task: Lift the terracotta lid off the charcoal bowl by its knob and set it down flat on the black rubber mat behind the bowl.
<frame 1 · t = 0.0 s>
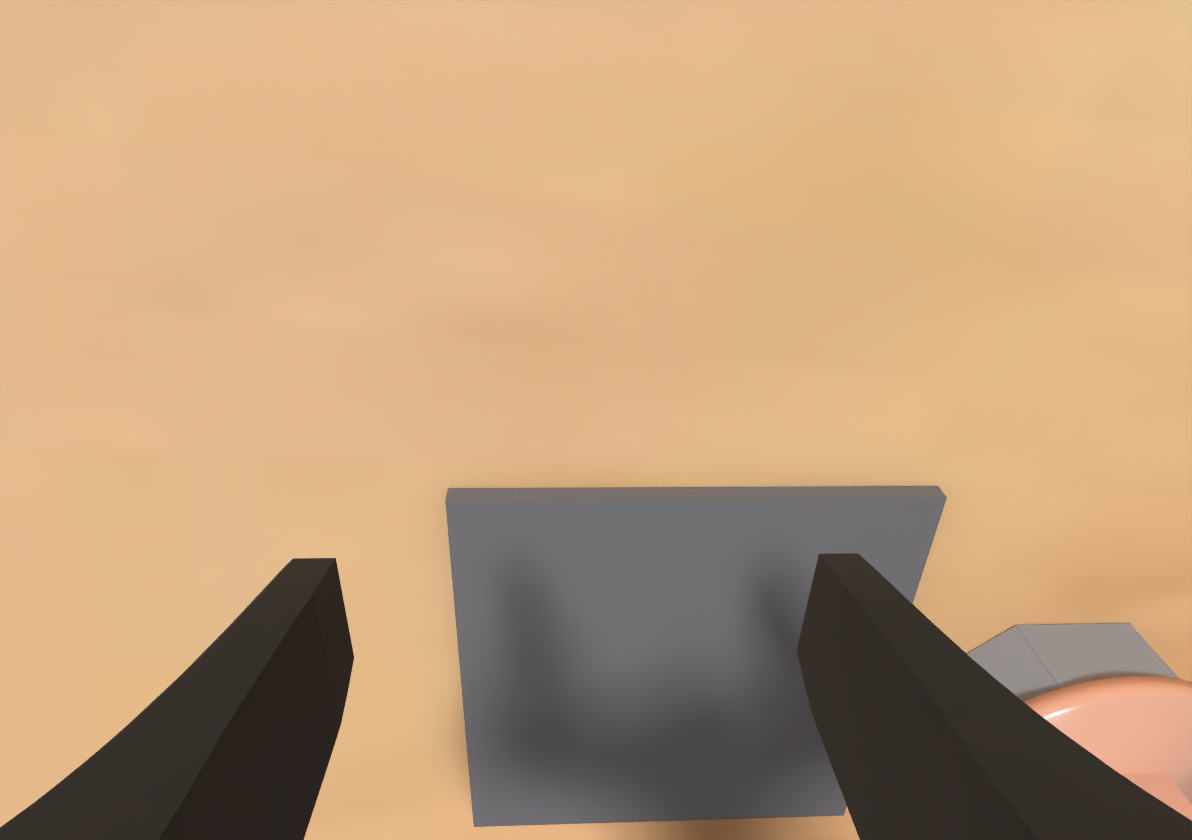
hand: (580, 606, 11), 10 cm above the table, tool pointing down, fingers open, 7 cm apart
lid: (1074, 789, 27), point 3 cm above the table, touching bowl
bowl: (1027, 718, 29), on the table
mat: (675, 670, 27), on the table
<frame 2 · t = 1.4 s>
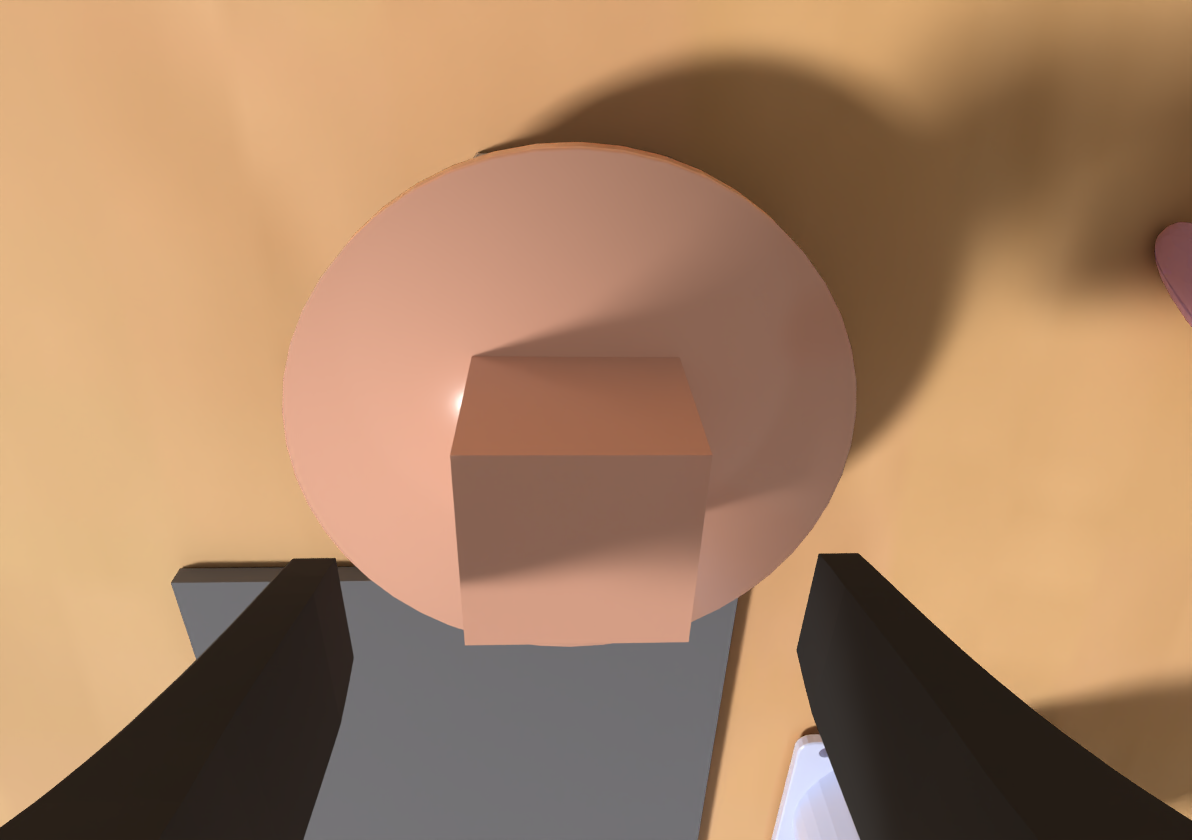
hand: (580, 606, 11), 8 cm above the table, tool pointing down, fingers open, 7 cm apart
lid: (573, 425, 16), point 3 cm above the table, touching bowl
mat: (476, 735, 26), on the table
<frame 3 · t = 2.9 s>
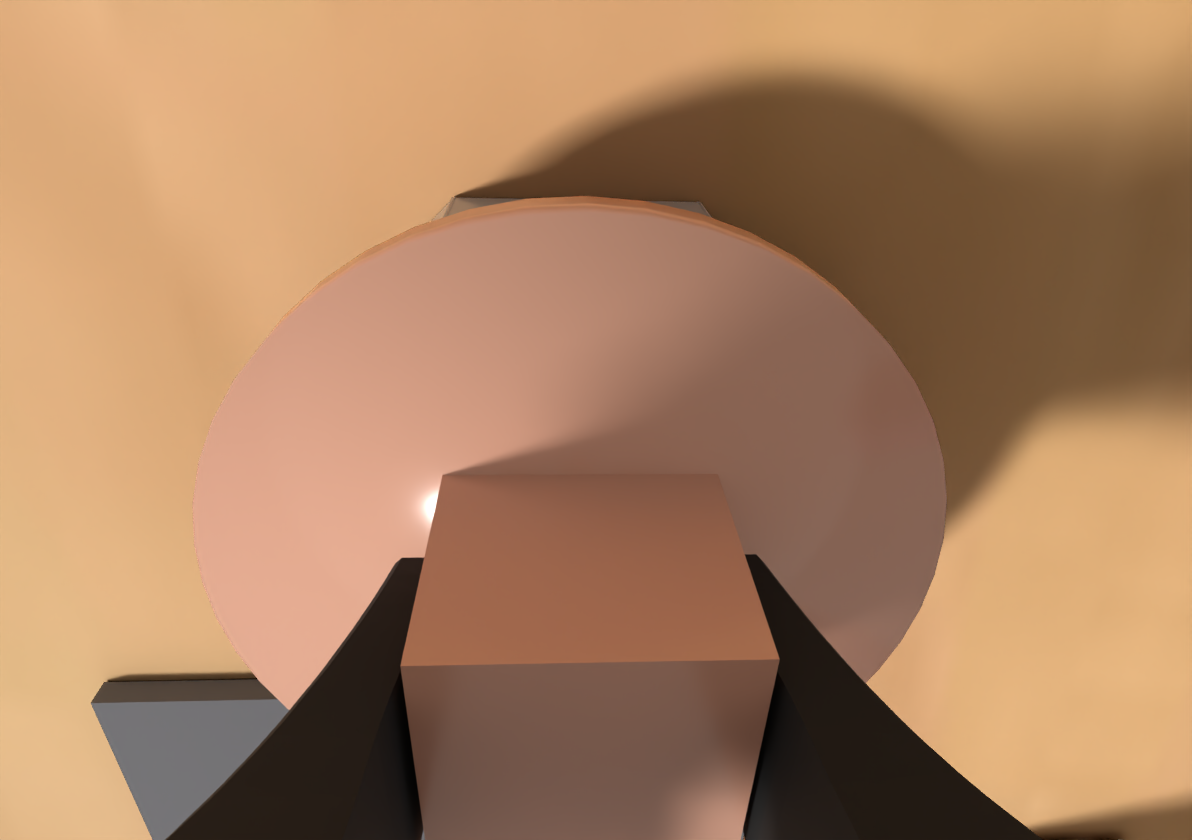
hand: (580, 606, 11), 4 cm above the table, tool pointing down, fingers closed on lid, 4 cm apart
lid: (577, 546, 13), point 3 cm above the table, touching bowl, gripper
bowl: (573, 449, 15), on the table
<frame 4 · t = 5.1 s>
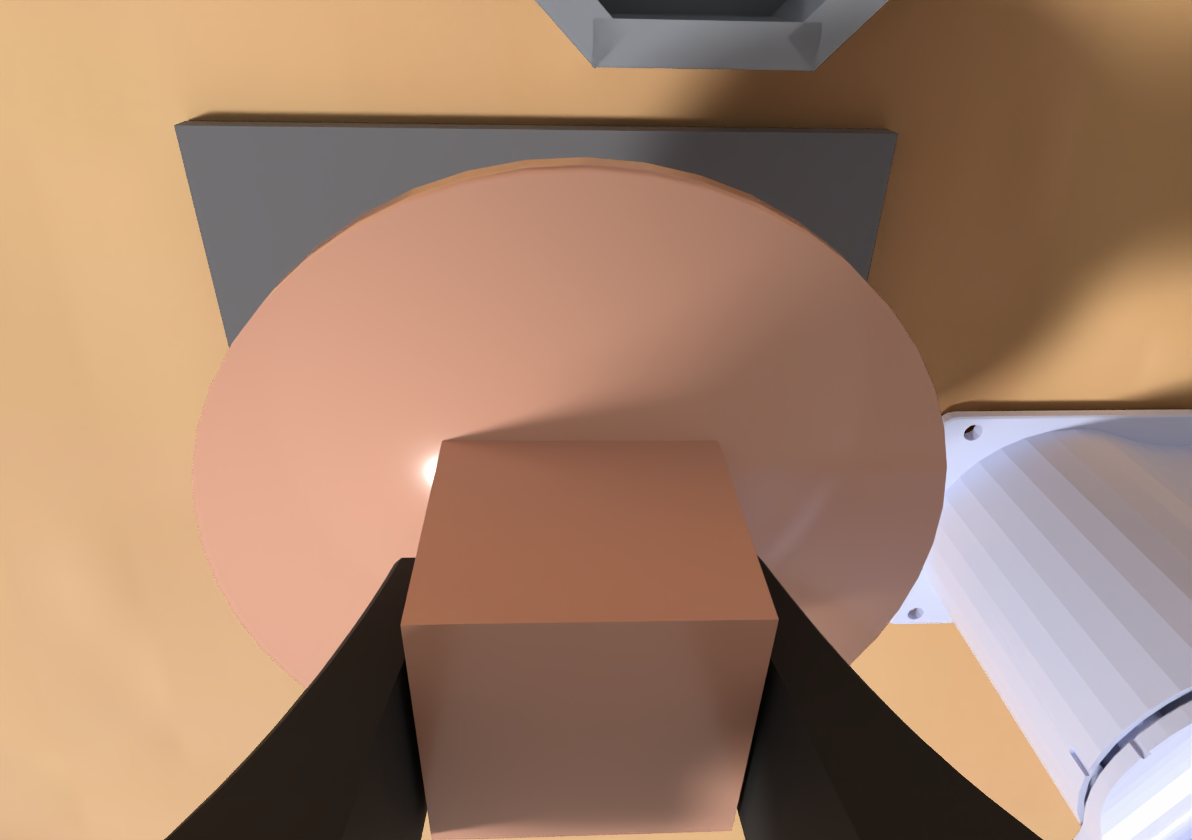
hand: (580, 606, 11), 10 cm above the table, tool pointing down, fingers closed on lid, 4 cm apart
lid: (577, 514, 13), point 8 cm above the table, touching gripper
mat: (549, 410, 21), on the table
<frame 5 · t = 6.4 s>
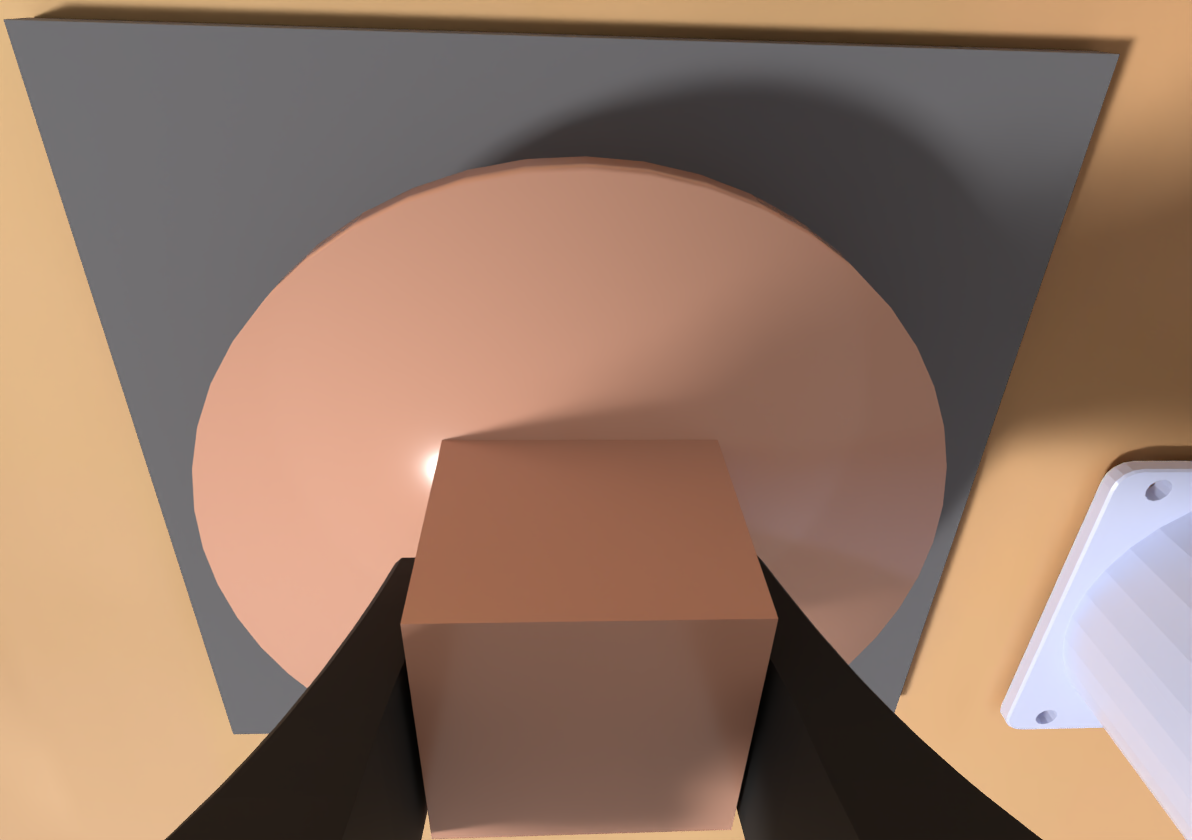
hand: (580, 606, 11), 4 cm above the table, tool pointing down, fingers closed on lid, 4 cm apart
lid: (577, 513, 13), point 3 cm above the table, touching gripper
mat: (575, 454, 15), on the table
when the fingers open (3 cm above the table, at t = 7.5 s): lid stays where it is, resting on mat.
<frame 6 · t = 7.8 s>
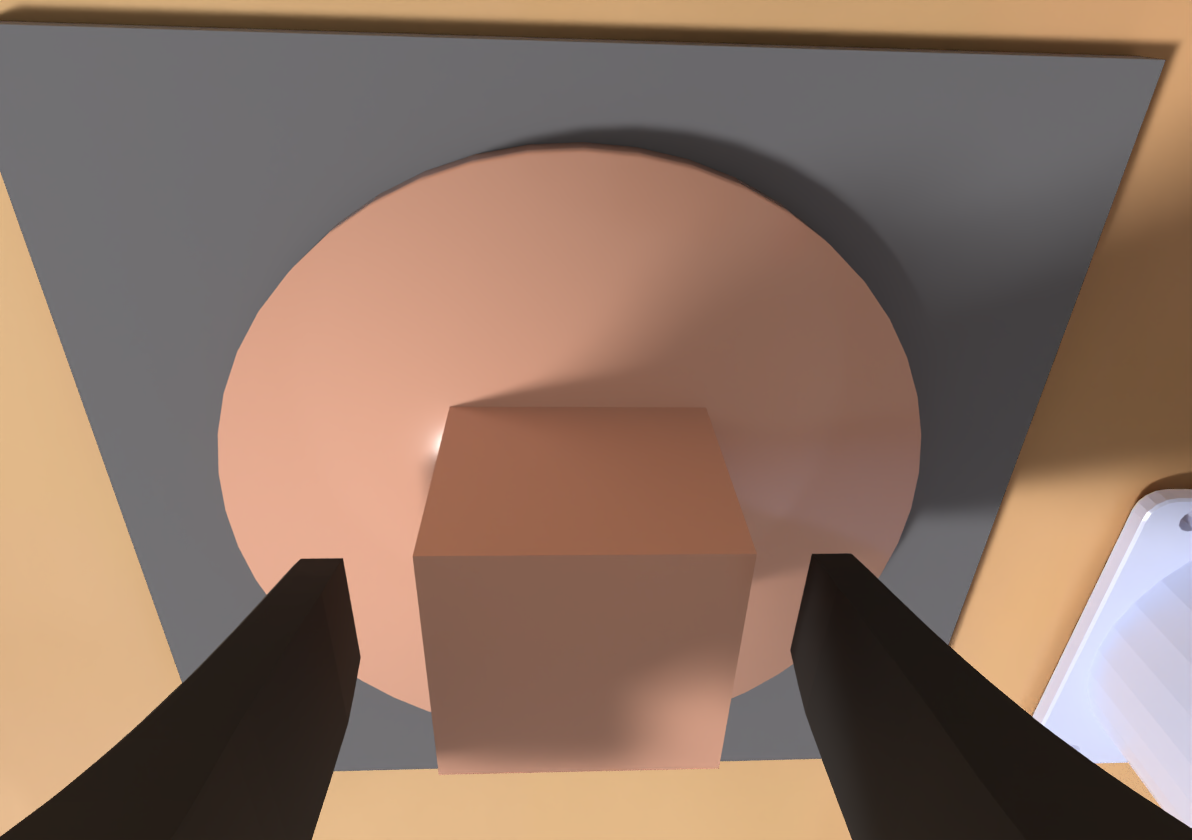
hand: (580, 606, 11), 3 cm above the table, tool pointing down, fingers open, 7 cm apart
lid: (575, 482, 13), point 1 cm above the table, touching mat
mat: (574, 484, 14), on the table
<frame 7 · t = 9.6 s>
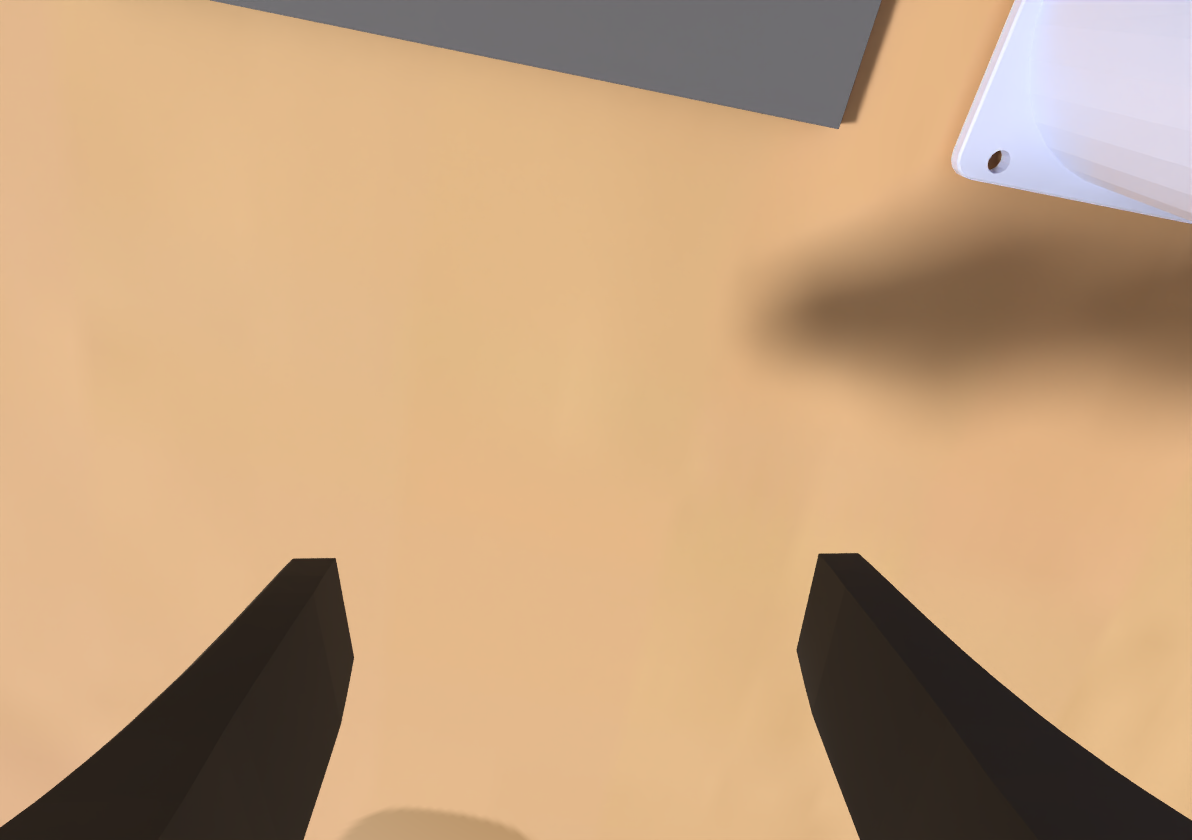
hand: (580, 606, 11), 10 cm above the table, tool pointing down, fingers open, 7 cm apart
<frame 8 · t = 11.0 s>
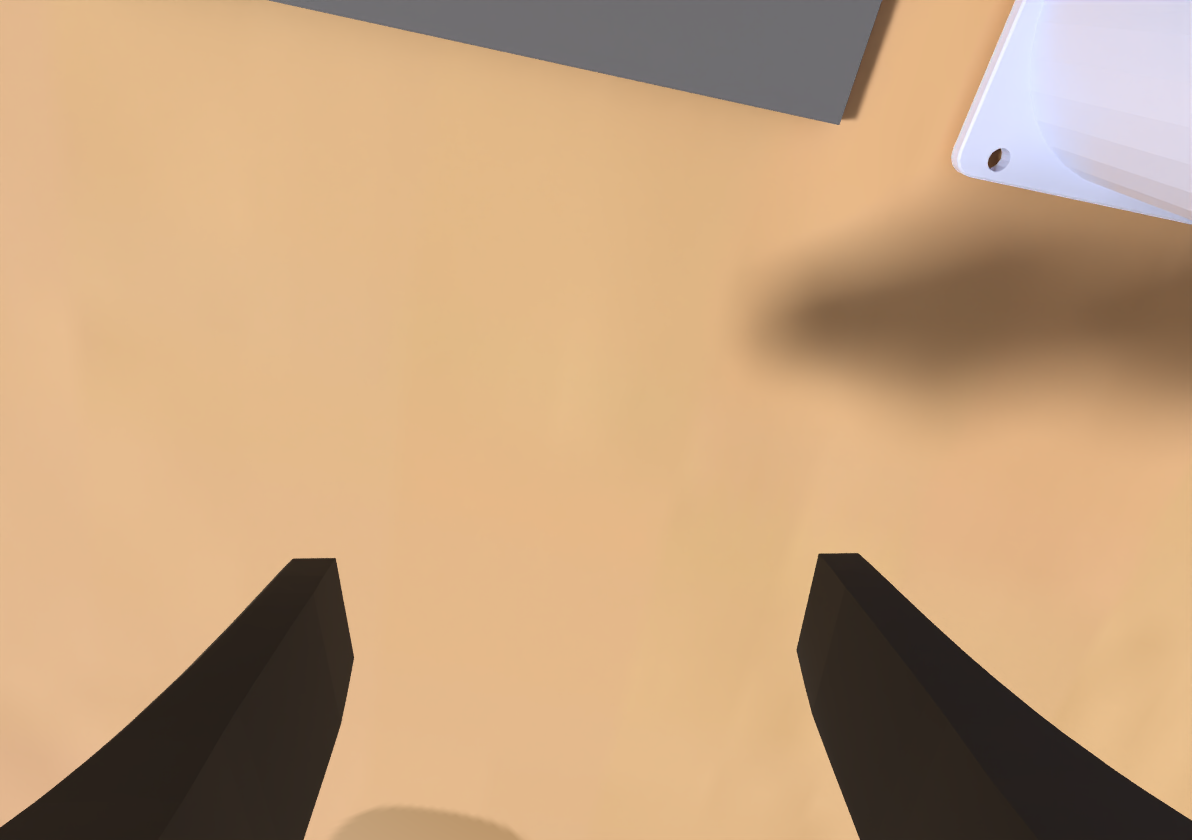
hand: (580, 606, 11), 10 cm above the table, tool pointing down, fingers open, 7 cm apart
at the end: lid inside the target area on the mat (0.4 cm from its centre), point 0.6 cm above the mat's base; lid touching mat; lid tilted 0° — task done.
